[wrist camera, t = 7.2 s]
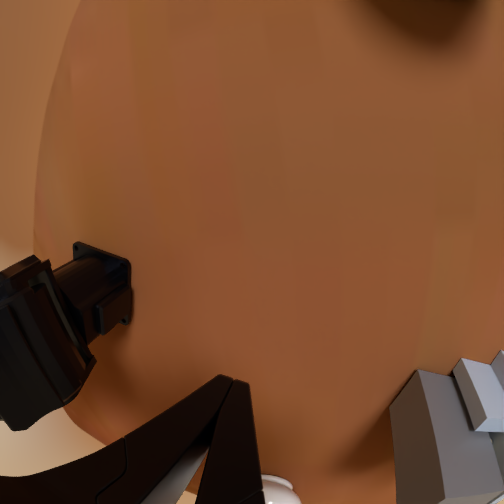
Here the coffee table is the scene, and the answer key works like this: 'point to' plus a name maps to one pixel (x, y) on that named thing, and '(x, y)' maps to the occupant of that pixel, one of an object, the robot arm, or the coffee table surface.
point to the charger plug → (440, 446)
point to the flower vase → (278, 491)
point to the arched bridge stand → (485, 402)
